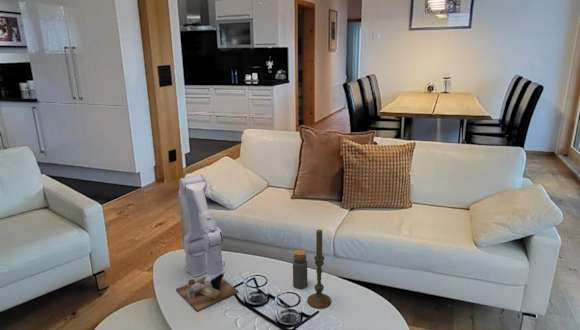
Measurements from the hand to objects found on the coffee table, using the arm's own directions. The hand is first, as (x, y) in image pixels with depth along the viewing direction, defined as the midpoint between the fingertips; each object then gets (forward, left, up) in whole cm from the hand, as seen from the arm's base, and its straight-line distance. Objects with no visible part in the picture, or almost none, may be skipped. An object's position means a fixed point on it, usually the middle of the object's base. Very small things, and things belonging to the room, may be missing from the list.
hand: (216, 291), depth 152 cm
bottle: (+17, +29, -2) cm, 34 cm away
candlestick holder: (+30, +27, -2) cm, 40 cm away
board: (-4, -2, -2) cm, 5 cm away
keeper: (-4, -7, -1) cm, 8 cm away
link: (-4, -4, -1) cm, 6 cm away
